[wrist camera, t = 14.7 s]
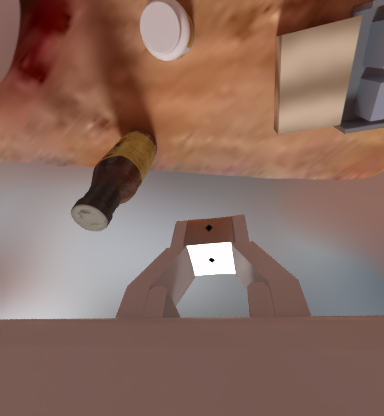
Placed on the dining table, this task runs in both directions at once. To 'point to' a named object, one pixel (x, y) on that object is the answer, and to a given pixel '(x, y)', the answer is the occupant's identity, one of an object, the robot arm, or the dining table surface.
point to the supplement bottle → (166, 29)
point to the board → (313, 75)
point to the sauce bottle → (115, 180)
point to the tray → (361, 69)
